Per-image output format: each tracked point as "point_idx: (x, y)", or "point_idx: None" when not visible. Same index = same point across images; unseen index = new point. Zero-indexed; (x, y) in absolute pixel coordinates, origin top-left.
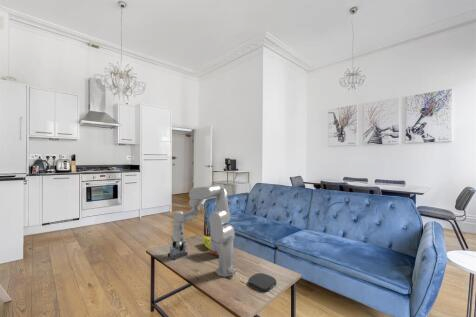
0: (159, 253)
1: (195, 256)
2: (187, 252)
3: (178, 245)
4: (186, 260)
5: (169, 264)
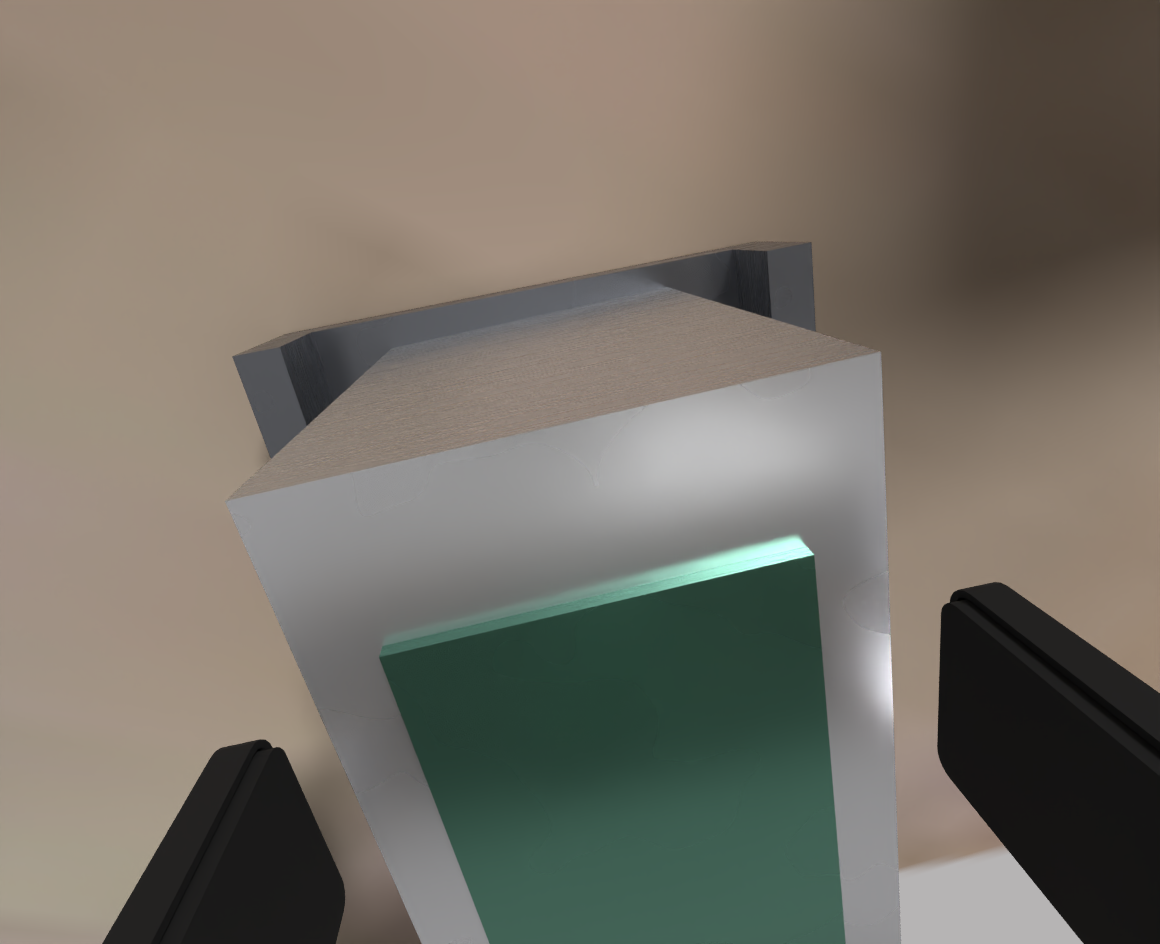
0: (94, 940)
1: (1102, 2)
2: (798, 242)
3: (670, 906)
4: (1083, 457)
5: (924, 865)
